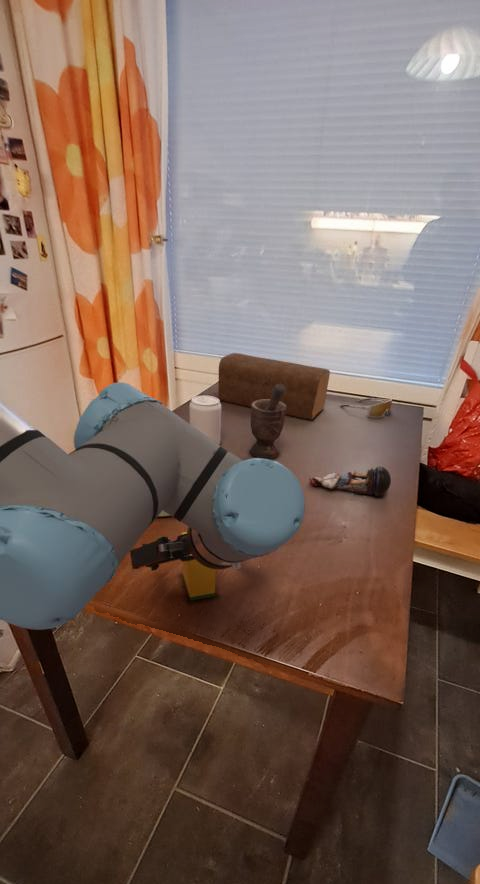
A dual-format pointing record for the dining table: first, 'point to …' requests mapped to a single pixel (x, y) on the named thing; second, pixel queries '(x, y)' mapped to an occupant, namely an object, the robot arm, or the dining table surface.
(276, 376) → the bread
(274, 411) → the mortar and pestle
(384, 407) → the sunglasses
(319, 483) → the figurine
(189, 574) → the sponge
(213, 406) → the beverage can
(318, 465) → the dining table surface
